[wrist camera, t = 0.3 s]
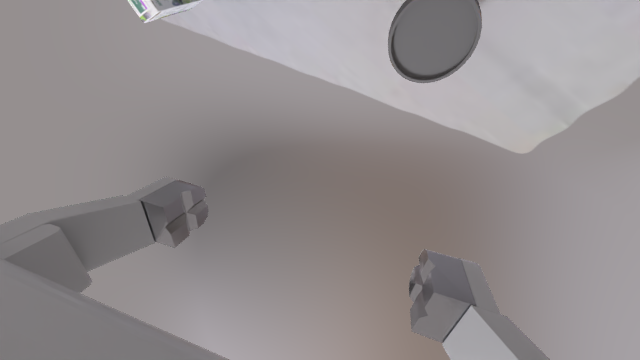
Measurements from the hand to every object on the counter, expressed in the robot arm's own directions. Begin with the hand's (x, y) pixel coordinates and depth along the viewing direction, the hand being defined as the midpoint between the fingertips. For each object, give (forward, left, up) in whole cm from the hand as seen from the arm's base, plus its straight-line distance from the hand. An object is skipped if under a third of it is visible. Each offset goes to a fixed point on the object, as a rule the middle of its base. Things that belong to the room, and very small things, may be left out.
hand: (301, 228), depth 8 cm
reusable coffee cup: (-2, +7, -51) cm, 52 cm away
